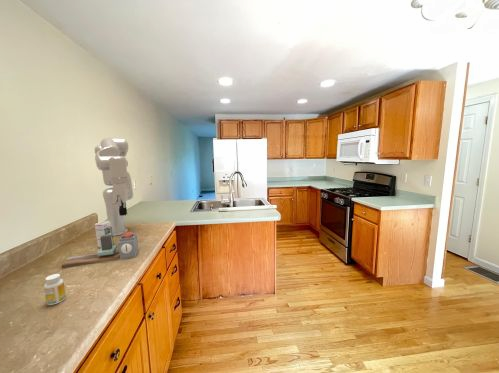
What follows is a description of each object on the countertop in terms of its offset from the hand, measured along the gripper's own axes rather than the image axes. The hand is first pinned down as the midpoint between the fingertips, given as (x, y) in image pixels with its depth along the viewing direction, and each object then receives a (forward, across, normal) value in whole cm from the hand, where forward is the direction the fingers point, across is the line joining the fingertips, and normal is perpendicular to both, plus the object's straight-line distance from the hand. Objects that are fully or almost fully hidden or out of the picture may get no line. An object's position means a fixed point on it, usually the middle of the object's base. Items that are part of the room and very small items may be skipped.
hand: (123, 214), depth 114 cm
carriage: (+18, +2, -9) cm, 20 cm away
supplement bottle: (+21, +35, -17) cm, 44 cm away
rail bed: (+22, +2, -15) cm, 26 cm away
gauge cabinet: (+22, +2, +1) cm, 22 cm away
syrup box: (+22, -16, -14) cm, 31 cm away
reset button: (+12, +2, +1) cm, 12 cm away
